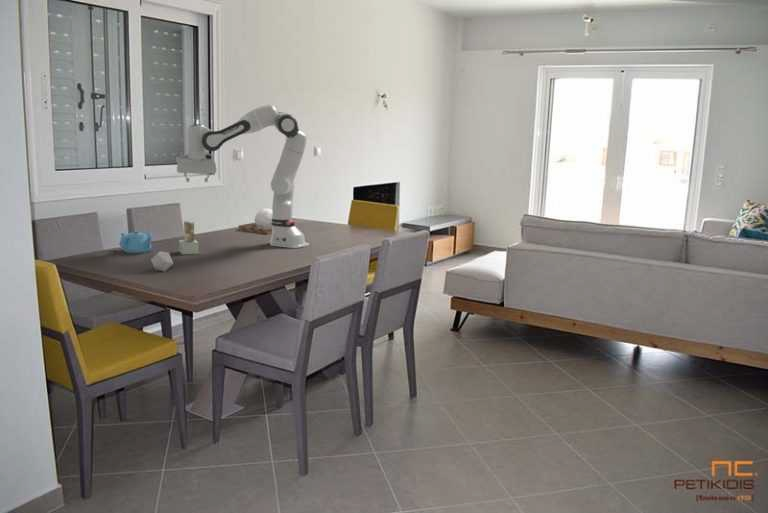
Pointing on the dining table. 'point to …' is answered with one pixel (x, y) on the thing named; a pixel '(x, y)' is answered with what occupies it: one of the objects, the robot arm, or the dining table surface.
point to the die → (162, 261)
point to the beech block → (189, 231)
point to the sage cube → (188, 247)
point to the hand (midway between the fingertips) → (197, 181)
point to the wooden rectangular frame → (254, 228)
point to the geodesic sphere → (264, 218)
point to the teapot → (135, 242)
